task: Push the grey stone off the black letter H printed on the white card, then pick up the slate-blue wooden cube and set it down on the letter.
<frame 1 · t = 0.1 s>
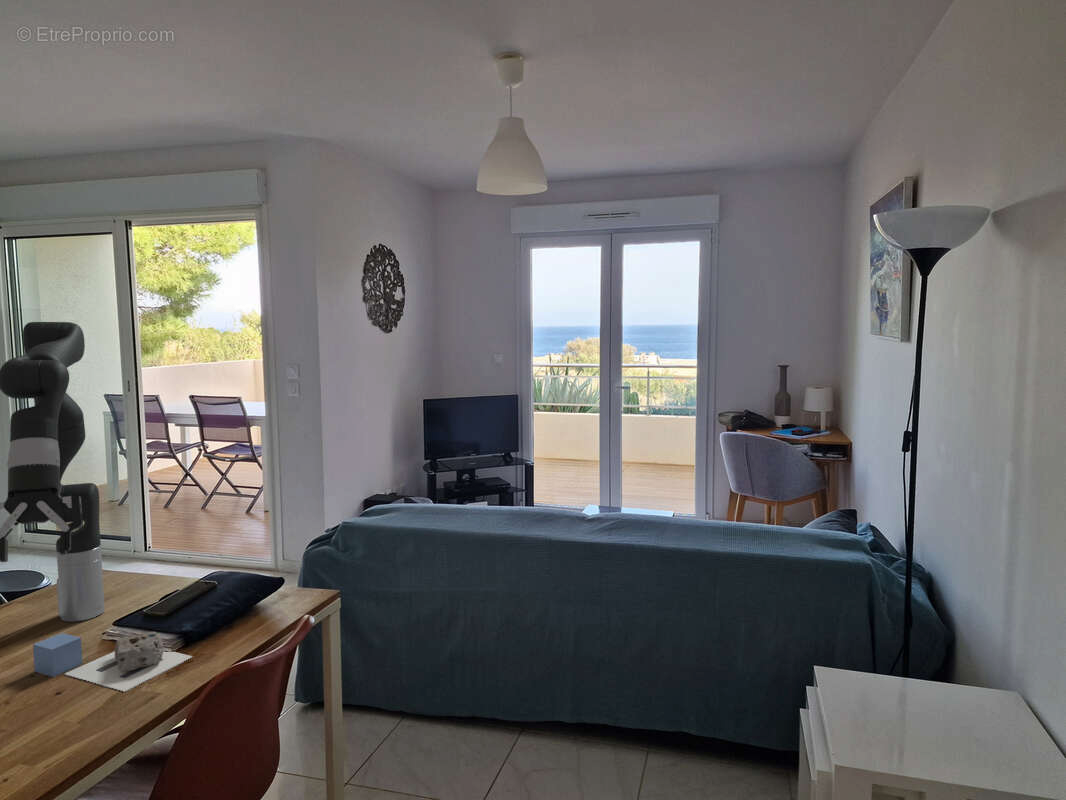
hand: (33, 558, 120), 31 cm above the table, tool tilted 20°, fingers open, 8 cm apart
stone: (138, 661, 148), resting on letter card
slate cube: (58, 668, 145), on the table
letter card: (130, 665, 146), on the table
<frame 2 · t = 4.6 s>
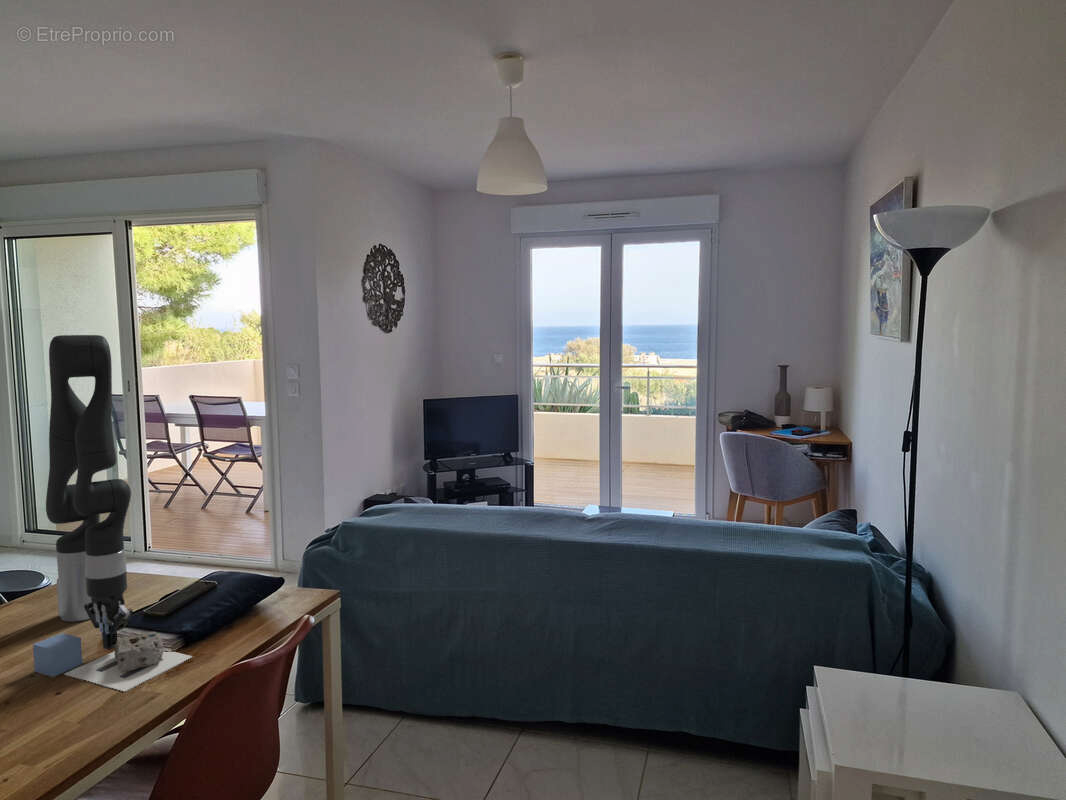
hand: (110, 647, 151), 2 cm above the table, tool pointing down, fingers closed
stone: (138, 661, 148), resting on letter card, touching gripper
everything else where it was.
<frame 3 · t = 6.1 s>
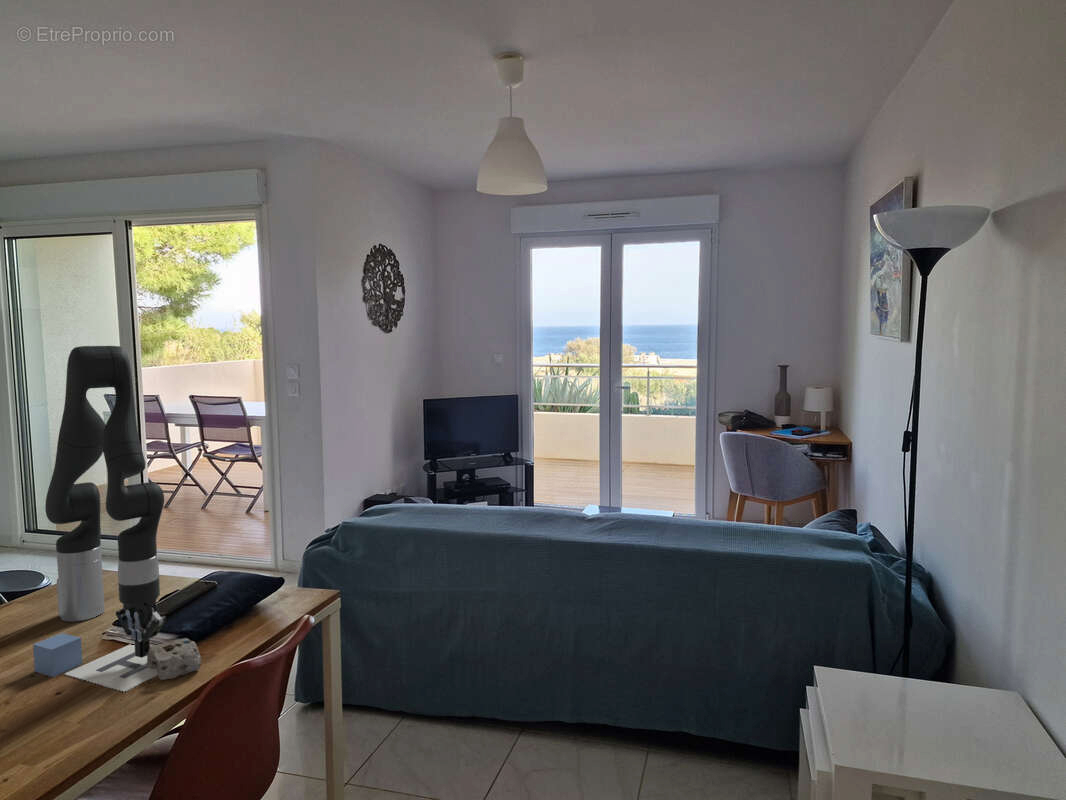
hand: (142, 655, 147), 2 cm above the table, tool pointing down, fingers closed
stone: (174, 668, 145), on the table, touching gripper
everything else where it was.
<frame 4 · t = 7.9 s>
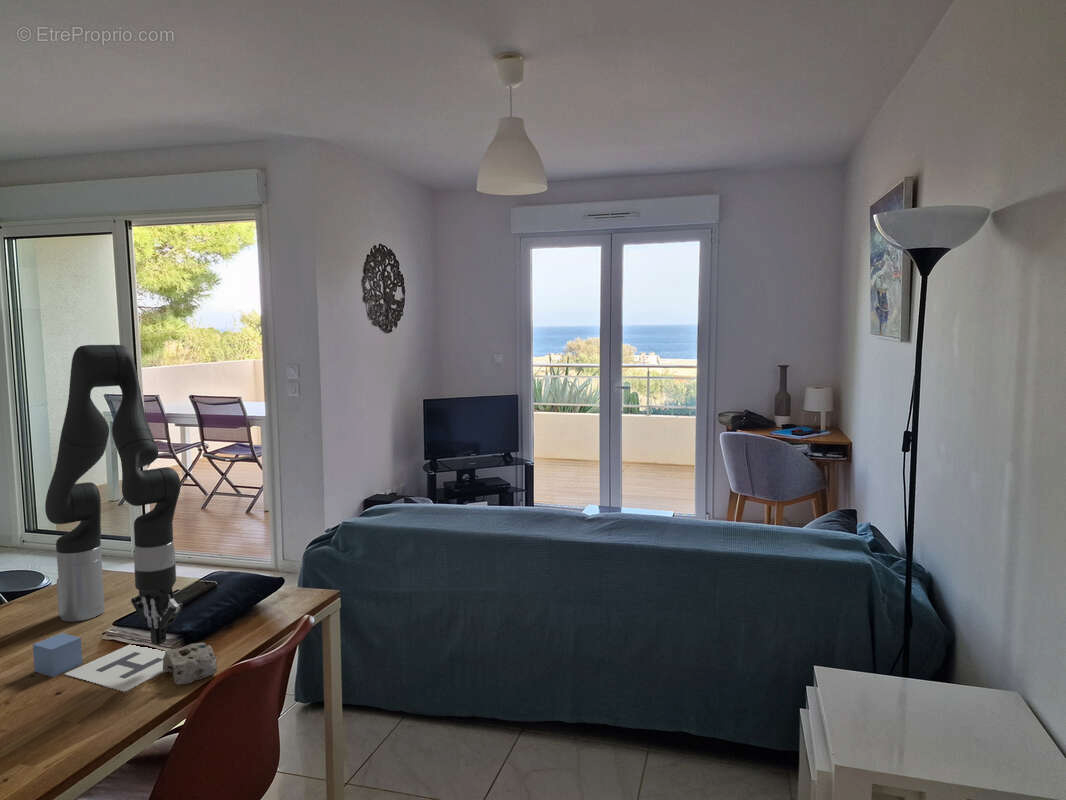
hand: (158, 643, 145), 5 cm above the table, tool pointing down, fingers closed
stone: (190, 673, 143), on the table, touching letter card
everything else where it was.
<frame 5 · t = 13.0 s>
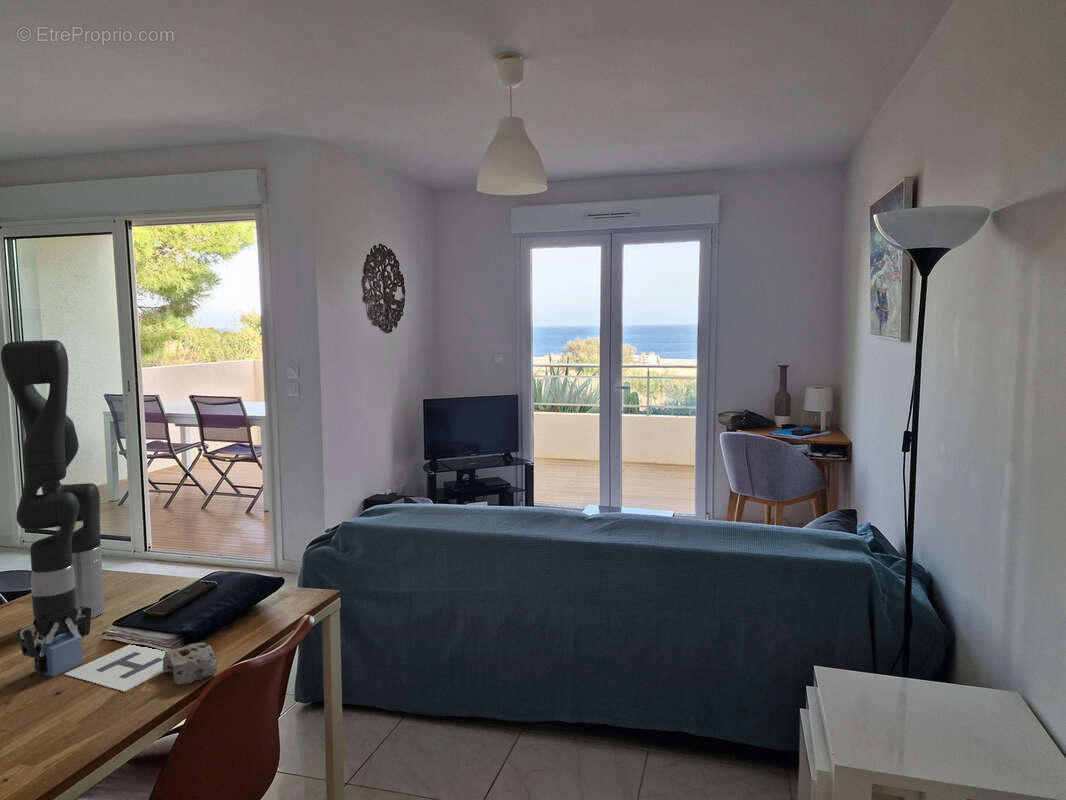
hand: (58, 665, 145), 1 cm above the table, tool pointing down, fingers closed on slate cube, 6 cm apart
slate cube: (59, 668, 145), on the table, touching gripper
everything else where it was.
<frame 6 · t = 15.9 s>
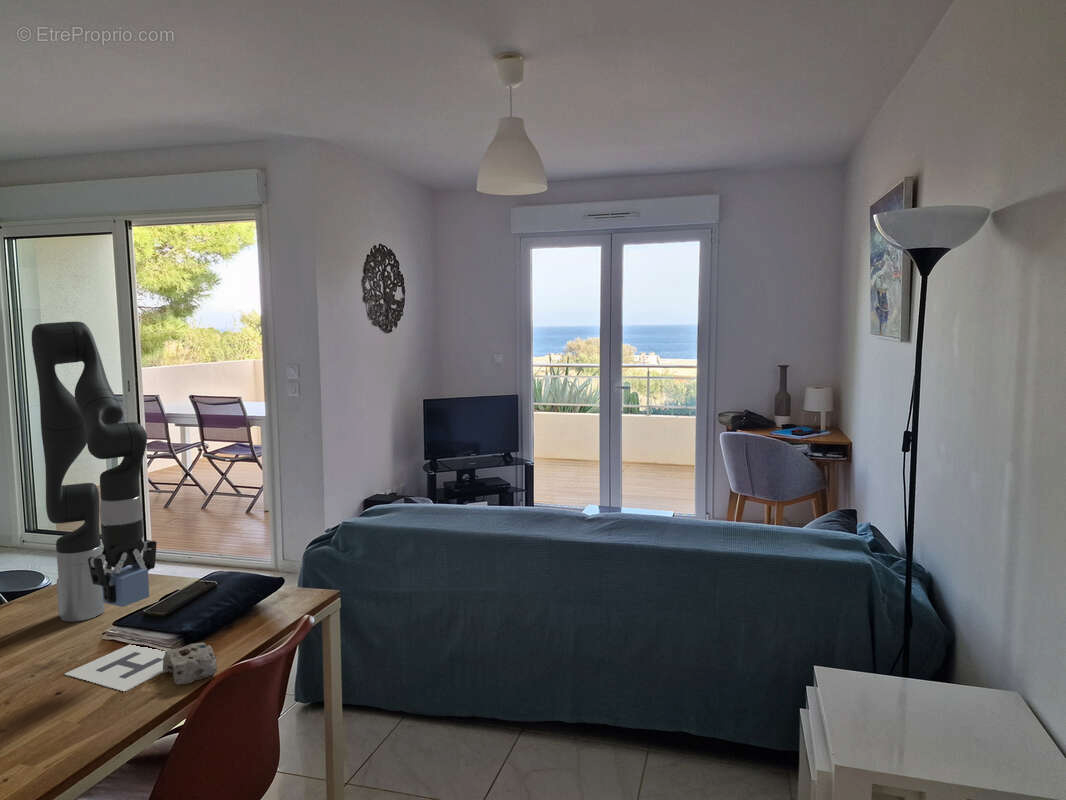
hand: (126, 596, 145), 15 cm above the table, tool pointing down, fingers closed on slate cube, 6 cm apart
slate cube: (126, 599, 145), point 15 cm above the table, touching gripper
everything else where it was.
when the fingers open (2 cm above the table, at t = 18.7 s): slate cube drops 1 cm, resting on letter card.
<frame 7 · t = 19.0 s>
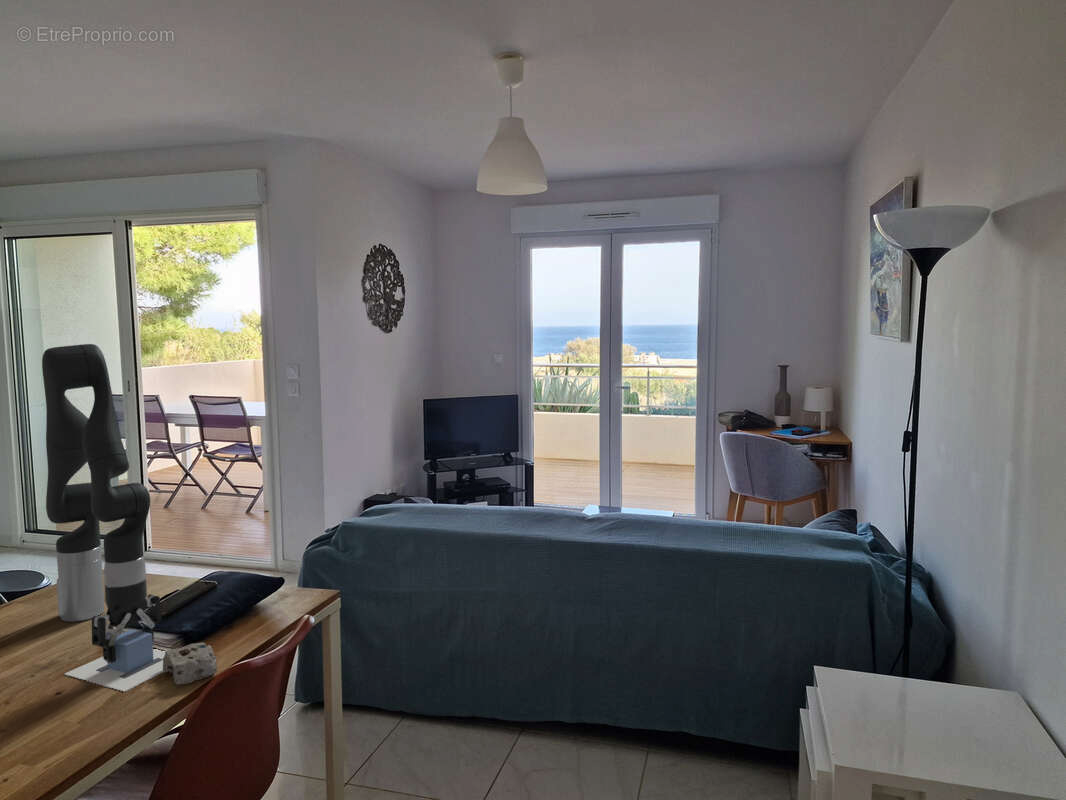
hand: (129, 653, 146), 3 cm above the table, tool pointing down, fingers open, 8 cm apart
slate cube: (130, 664, 146), resting on letter card
everything else where it was.
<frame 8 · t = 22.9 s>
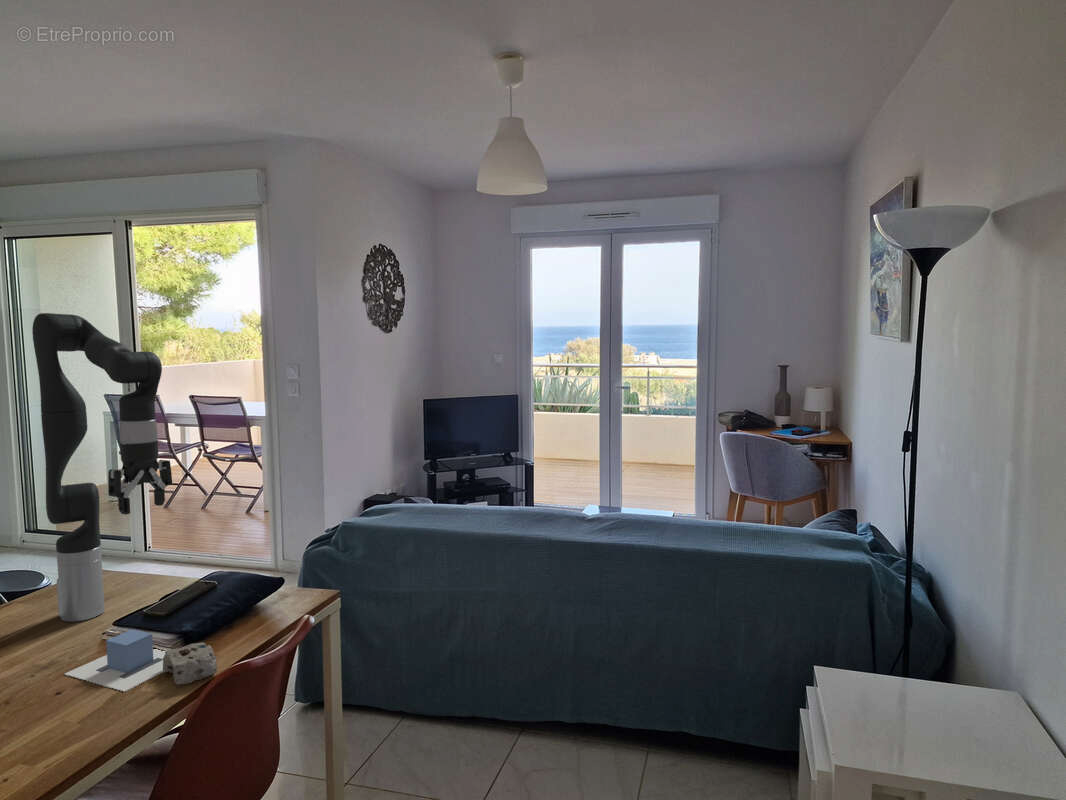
hand: (142, 509, 158), 30 cm above the table, tool pointing down, fingers open, 8 cm apart
nothing on the table moved.
at the end: stone inside the target area (1.8 cm from its centre), on the table; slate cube 0.2 cm off-centre on the letter card, point 0.3 cm above the letter card's base; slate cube tilted 0° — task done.
